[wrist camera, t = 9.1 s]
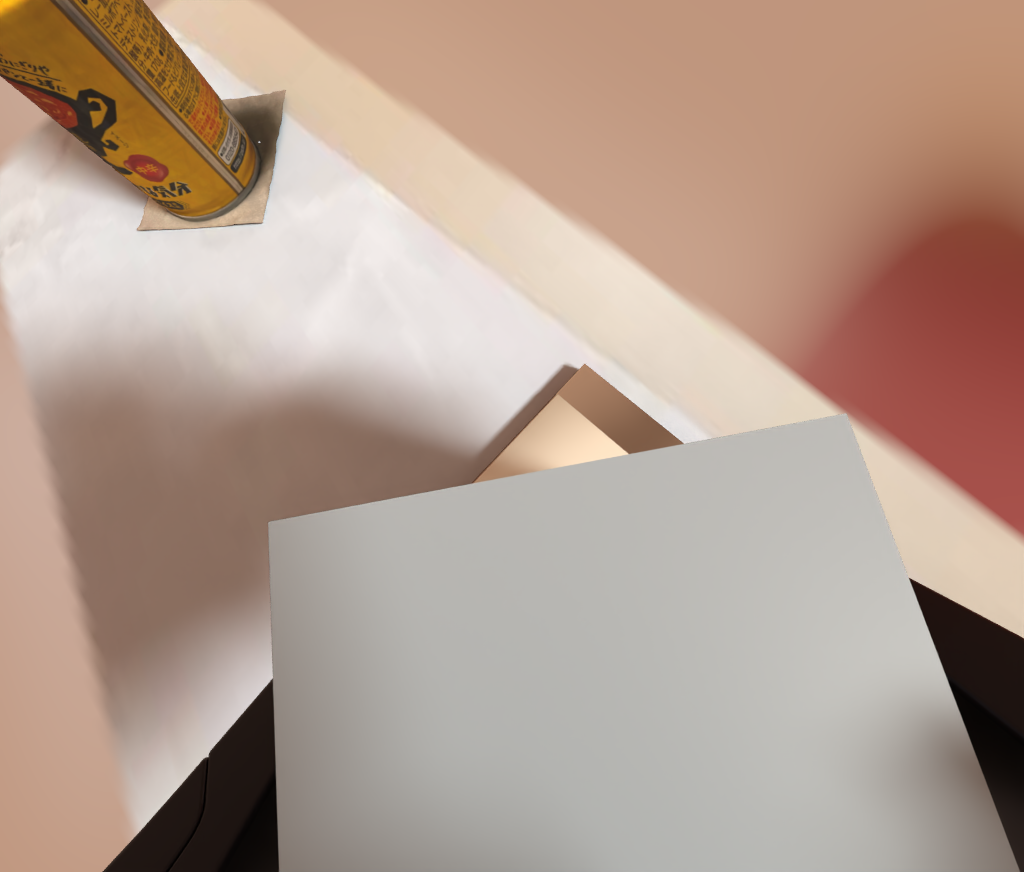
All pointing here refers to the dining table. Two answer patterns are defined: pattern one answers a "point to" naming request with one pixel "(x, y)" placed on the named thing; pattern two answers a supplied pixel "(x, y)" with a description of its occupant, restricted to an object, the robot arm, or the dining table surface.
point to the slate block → (621, 675)
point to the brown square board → (579, 430)
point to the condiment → (143, 108)
